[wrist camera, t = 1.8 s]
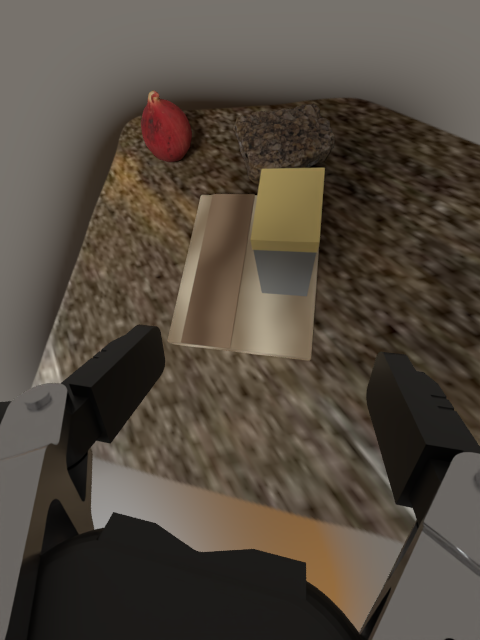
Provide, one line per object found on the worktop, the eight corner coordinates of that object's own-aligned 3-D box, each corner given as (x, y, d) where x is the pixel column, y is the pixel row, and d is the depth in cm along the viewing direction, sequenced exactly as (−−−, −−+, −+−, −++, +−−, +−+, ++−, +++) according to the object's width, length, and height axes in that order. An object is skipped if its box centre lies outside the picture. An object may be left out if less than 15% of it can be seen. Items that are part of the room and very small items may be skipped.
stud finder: (311, 242, 27) (324, 167, 18) (307, 296, 25) (319, 242, 17) (268, 240, 28) (261, 168, 19) (261, 293, 26) (250, 239, 18)
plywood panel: (321, 203, 30) (322, 194, 28) (309, 360, 25) (311, 358, 23) (204, 202, 32) (200, 193, 31) (172, 344, 27) (166, 341, 26)
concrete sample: (246, 202, 32) (240, 166, 27) (235, 142, 35) (227, 101, 30) (343, 179, 30) (354, 137, 26) (322, 119, 34) (328, 73, 29)
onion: (185, 181, 34) (157, 118, 26) (150, 170, 35) (114, 108, 28) (206, 148, 35) (185, 78, 28) (172, 139, 37) (143, 71, 29)
